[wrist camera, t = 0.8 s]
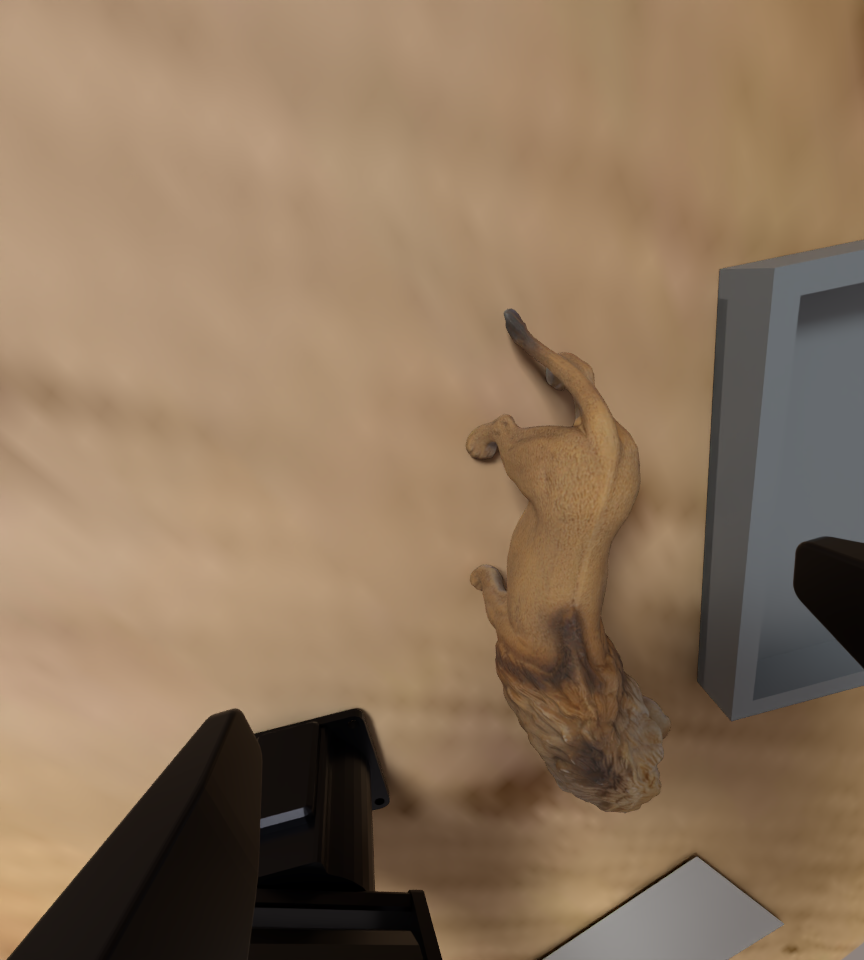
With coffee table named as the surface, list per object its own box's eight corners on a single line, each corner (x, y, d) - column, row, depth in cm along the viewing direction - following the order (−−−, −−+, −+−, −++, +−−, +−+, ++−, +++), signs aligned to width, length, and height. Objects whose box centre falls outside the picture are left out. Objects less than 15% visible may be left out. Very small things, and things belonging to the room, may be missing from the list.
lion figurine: (586, 625, 23) (716, 818, 15) (476, 651, 23) (547, 865, 14) (572, 295, 17) (774, 311, 9) (423, 322, 17) (492, 366, 9)
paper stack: (403, 935, 31) (404, 949, 30) (731, 698, 27) (740, 708, 26) (603, 1022, 40) (607, 1034, 39) (873, 852, 36) (882, 863, 35)
